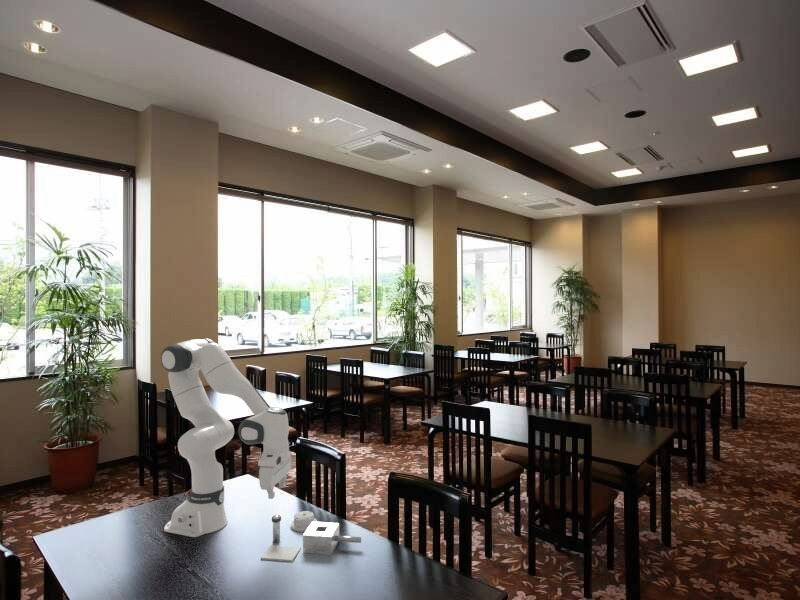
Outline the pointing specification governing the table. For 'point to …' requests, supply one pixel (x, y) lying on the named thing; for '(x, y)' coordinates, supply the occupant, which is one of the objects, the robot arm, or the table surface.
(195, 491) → the robot arm
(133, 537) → the table surface
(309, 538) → the block
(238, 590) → the table surface
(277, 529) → the grey capped cylinder
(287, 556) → the mat
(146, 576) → the table surface
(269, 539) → the table surface
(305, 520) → the mechanical component
